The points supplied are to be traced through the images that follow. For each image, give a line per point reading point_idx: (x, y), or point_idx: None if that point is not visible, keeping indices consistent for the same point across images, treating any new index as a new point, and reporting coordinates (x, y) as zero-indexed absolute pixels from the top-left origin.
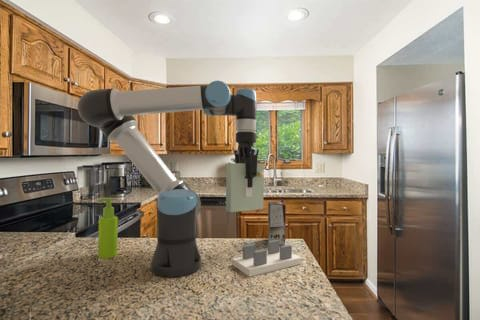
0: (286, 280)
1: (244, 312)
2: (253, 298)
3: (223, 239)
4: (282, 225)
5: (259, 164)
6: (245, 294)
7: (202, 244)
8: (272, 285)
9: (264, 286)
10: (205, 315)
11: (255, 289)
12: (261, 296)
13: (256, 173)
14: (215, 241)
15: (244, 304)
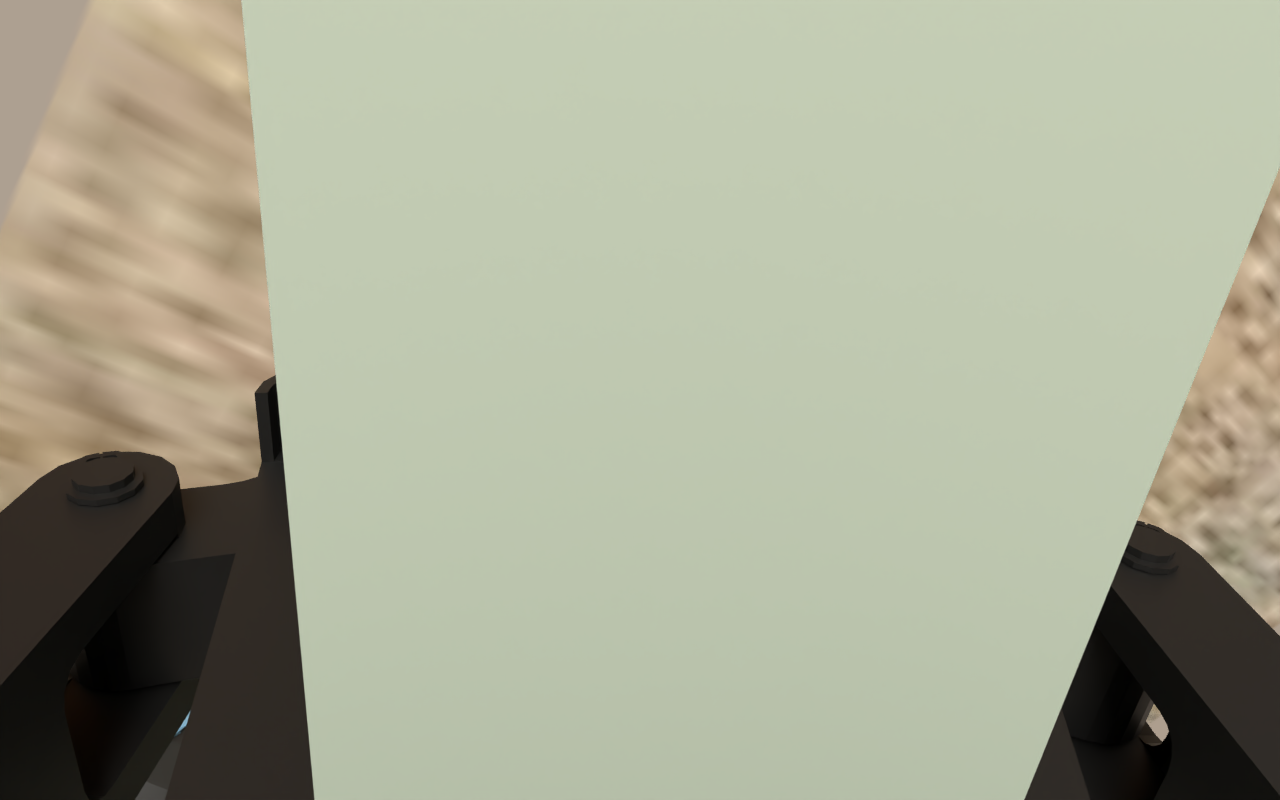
0: (1277, 223)
1: (1271, 608)
2: (1232, 516)
3: (117, 31)
4: None
5: (1170, 306)
6: (1173, 523)
7: (211, 314)
8: (1236, 347)
9: (1203, 393)
10: (1152, 721)
11: (1182, 454)
12: (1255, 474)
13: (1236, 604)
14: (161, 155)
15: (1230, 575)
